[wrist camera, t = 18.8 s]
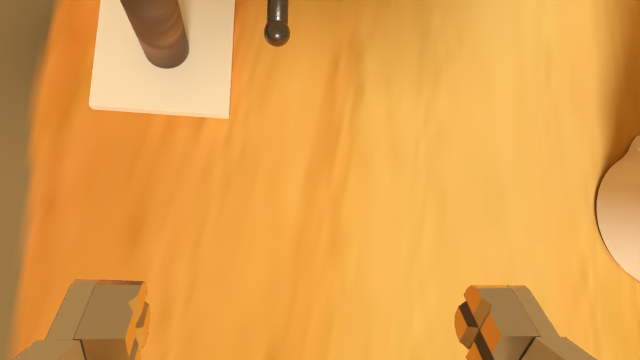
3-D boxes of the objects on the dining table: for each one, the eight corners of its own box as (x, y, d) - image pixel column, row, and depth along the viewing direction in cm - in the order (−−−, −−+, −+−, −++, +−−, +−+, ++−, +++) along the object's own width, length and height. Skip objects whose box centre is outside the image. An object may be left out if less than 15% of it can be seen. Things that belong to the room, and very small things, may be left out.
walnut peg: (190, 30, 41) (177, -32, 33) (187, 70, 41) (173, 18, 32) (145, 26, 41) (119, -38, 32) (141, 66, 40) (114, 12, 31)
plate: (235, 3, 44) (235, -3, 43) (229, 118, 42) (228, 115, 41) (106, -12, 42) (103, -19, 41) (92, 109, 39) (88, 105, 38)
